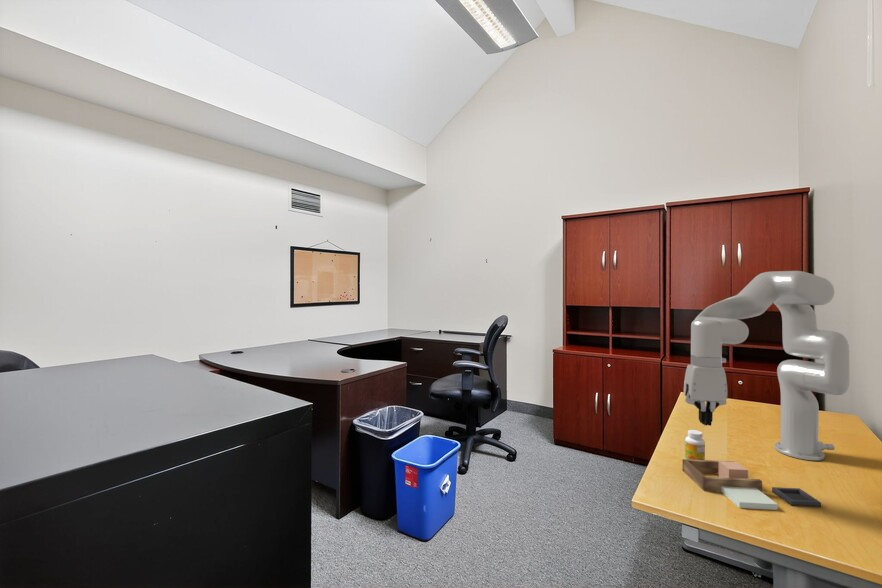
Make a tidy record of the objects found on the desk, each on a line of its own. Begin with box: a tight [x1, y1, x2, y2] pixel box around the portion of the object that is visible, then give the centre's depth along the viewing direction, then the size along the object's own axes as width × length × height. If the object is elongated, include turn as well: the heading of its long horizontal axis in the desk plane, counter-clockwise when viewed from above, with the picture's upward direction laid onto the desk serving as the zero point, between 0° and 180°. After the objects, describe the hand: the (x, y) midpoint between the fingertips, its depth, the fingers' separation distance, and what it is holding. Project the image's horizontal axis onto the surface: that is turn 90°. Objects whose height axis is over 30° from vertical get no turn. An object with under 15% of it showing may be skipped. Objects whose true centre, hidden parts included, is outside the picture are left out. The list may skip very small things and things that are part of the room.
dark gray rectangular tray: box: [771, 486, 822, 508], centre depth 105 cm, size 7×7×1 cm
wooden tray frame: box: [682, 458, 763, 493], centre depth 115 cm, size 15×12×4 cm
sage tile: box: [721, 486, 778, 511], centre depth 104 cm, size 9×8×2 cm
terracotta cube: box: [718, 460, 749, 479], centre depth 114 cm, size 5×5×5 cm
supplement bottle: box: [684, 429, 706, 460], centre depth 127 cm, size 5×5×10 cm
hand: (705, 423), depth 115 cm, fingers closed
